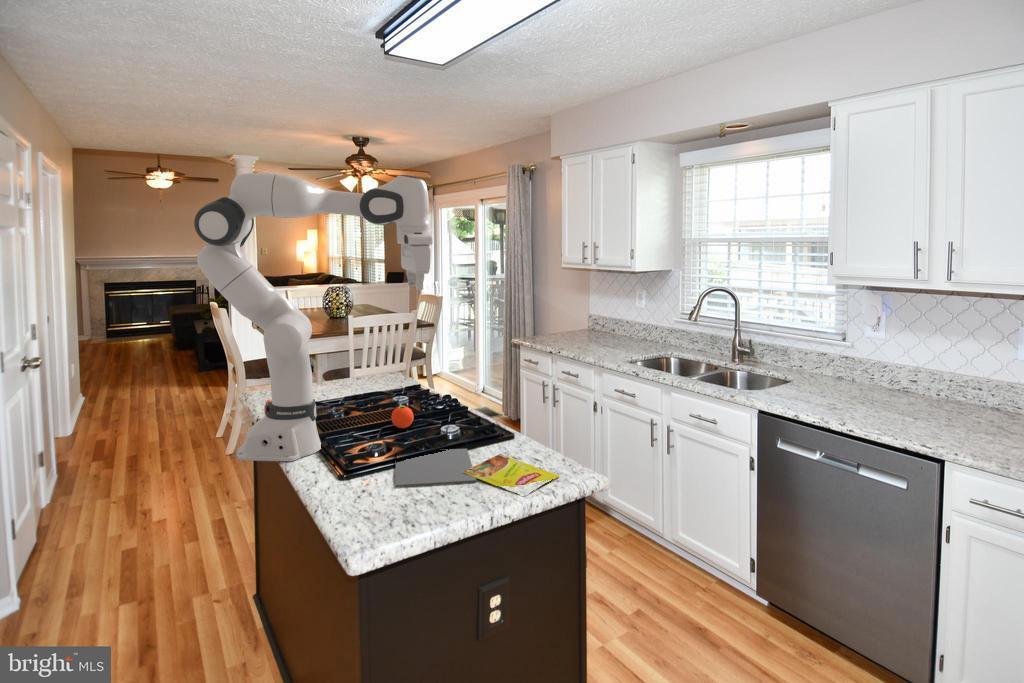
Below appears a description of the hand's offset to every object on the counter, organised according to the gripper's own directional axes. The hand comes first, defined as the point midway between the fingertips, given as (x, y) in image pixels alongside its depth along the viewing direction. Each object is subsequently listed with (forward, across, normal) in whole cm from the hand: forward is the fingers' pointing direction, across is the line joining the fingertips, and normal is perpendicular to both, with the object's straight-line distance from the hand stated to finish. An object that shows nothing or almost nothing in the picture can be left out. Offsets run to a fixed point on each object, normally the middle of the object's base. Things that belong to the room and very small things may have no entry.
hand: (415, 288), depth 171 cm
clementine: (+46, -19, -2) cm, 50 cm away
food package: (+45, +20, +12) cm, 51 cm away
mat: (+46, +16, 0) cm, 49 cm away
